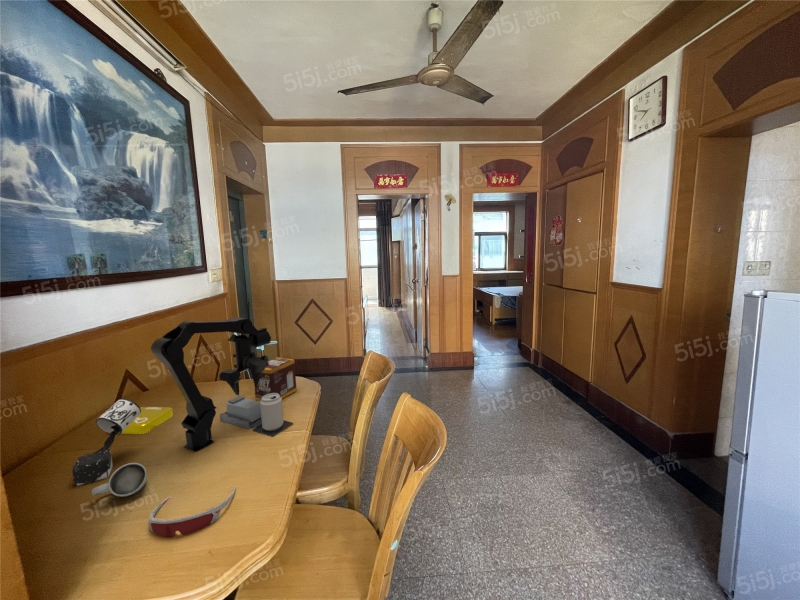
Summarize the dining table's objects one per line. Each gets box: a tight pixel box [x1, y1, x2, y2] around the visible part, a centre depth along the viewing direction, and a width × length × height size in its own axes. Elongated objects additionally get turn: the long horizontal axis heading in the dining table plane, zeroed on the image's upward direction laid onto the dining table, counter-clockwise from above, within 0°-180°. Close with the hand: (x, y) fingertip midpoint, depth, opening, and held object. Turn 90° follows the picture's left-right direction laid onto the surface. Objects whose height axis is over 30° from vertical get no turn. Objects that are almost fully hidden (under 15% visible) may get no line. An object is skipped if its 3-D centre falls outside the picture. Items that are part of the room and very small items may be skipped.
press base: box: [219, 410, 294, 438], centre depth 125 cm, size 10×28×3 cm, turn 65°
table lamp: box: [71, 398, 141, 487], centre depth 98 cm, size 25×10×10 cm
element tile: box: [120, 406, 174, 435], centre depth 126 cm, size 15×15×5 cm
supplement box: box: [253, 356, 297, 402], centre depth 149 cm, size 10×15×16 cm
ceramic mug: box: [91, 462, 148, 498], centre depth 87 cm, size 11×8×8 cm
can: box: [259, 393, 285, 431], centre depth 120 cm, size 8×8×12 cm
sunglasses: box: [148, 484, 237, 538], centre depth 81 cm, size 17×17×5 cm
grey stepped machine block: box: [226, 395, 261, 422], centre depth 127 cm, size 6×12×7 cm, turn 65°
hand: (247, 390), depth 125 cm, fingers open, 9 cm apart
